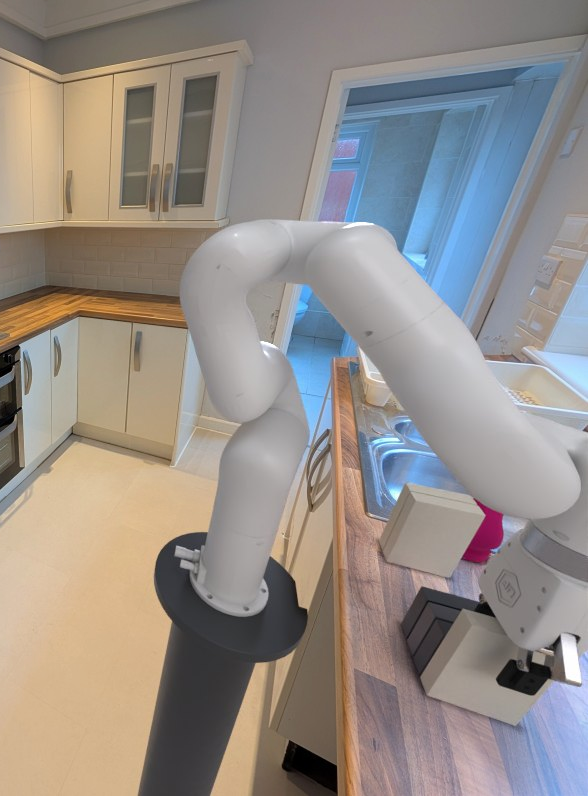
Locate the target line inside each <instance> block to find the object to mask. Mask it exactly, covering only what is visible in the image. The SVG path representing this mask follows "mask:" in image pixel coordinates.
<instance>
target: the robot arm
mask: <svg viewBox="0 0 588 796" xmlns="http://www.w3.org/2000/svg"><path fill="white" fill-rule="evenodd" d="M265 282H276V283H286V284H292V285H301V286H308V287H309V289H310V290H311V292H312V293H313V294H314V296H315V297H316V298H317V299H318V300H319V302H320V303H321V304H322V305H323V307H324V308H325V309H326V310H327V311H328V312H329V314H330V315H331V316H332V317H333V318H334V319H335V321H337V323H338V324H339V325H340V326H341V327H342V329H343V330H344V331H345V332H346V334H348V336H349V337H350V339H352V340H353V341H354V343H355V344H356V345H357V346H358V347H359V349H360V350H361V351H362V352H363V354H364V355H365V356H366V357H367V358H368V359H369V361H370V362H371V363H372V365H374V367H375V368H376V369H377V371H378V372H379V374H380V376H381V377H382V379H383V381H384V383H385V385H386V387H388V390H389V391H390V393H392V395H393V396H394V398H395V399H396V400H397V402H398V404H399V406H401V408H402V409H403V411H404V412H405V414H406V415H407V417H408V418H409V420H410V421H411V423H412V425H413V427H414V428H415V429H416V430H417V432H418V433H419V435H420V437H421V438H422V439H423V441H424V442H425V443H426V444H427V446H428V448H429V449H430V450H431V451H432V453H434V454H435V456H436V457H437V458H438V460H439V461H440V462H441V464H443V465H444V466H445V468H446V469H447V470H448V471H449V472H450V473H451V475H452V476H453V477H454V478H455V479H456V480H457V482H458V483H459V484H460V485H461V486H462V487H463V489H464V490H465V491H466V492H467V493H468V495H471V497H472V498H475V499H476V500H478V501H479V502H480V503H482V504H483V505H485V506H487V507H489V508H490V509H492V510H494V511H497V512H499V513H502V514H504V515H505V516H509V517H511V518H512V517H513V518H517V519H522V520H523V519H524V520H528V521H527V522H526V524H525V525H524V527H523V528H519V530H517V531H516V532H515V533H513V534H512V535H511V536H510V537H508V538H507V539H506V540H505V542H504V543H503V544H501V545H500V546H499V547H498V548H497V551H496V552H495V553H494V555H492V556H491V558H490V559H489V560H486V563H485V566H484V568H483V569H482V571H481V572H480V574H479V577H478V578H477V584H478V585H477V586H478V588H479V591H480V593H479V594H478V602H481V603H482V604H479V603H478V605H477V607H476V608H475V610H474V611H473V612H477V613H480V614H484V615H487V616H491V617H494V618H497V619H498V621H499V623H500V624H501V626H502V628H503V629H504V631H505V632H506V634H507V635H508V637H509V638H510V639H511V640H512V641H513V643H515V644H516V645H517V646H518V647H519V650H518V656H517V660H513V659H510V660H509V661H508V663H507V664H506V665H505V667H504V668H503V669H502V671H501V672H500V673H499V675H498V676H497V677H496V681H497V683H498V685H499V686H502V687H505V688H508V689H511V690H514V691H517V692H520V693H523V694H527V695H530V696H534V695H535V694H536V693H537V692H538V691H539V690H540V688H541V687H542V686H543V685H544V684H545V682H546V681H547V680H548V679H550V680H553V681H554V682H557V683H560V684H563V685H568V686H573V687H577V688H581V687H582V685H583V678H582V671H581V664H580V658H581V657H582V656H583V655H584V654H585V653H586V652H587V651H588V432H587V431H585V430H582V429H578V428H575V427H572V426H569V425H565V424H563V423H560V422H558V421H554V420H552V419H548V418H545V417H542V416H539V415H537V414H533V413H530V412H526V411H522V410H521V409H520V408H519V407H518V406H517V405H516V403H515V401H513V399H512V397H511V396H510V395H509V394H508V393H507V391H506V390H505V388H504V387H503V386H502V384H501V383H500V382H499V381H498V379H497V377H496V376H495V374H494V372H493V371H492V369H491V367H490V366H489V364H488V362H487V361H486V358H485V356H484V354H483V352H482V350H481V348H480V345H479V344H478V342H477V340H476V339H475V337H474V336H473V334H472V333H471V331H470V330H469V328H468V327H467V326H466V324H465V323H464V322H463V320H462V319H461V318H460V317H459V316H458V315H457V314H456V313H455V312H454V311H453V310H452V309H451V307H450V306H449V305H448V304H447V303H446V301H444V300H443V299H442V298H441V296H439V295H438V294H437V293H436V291H435V290H434V289H433V288H432V287H431V285H429V284H428V282H426V281H425V280H424V278H423V277H422V276H421V275H420V274H419V273H418V272H417V270H416V269H415V268H414V267H413V265H412V264H411V263H410V262H409V261H408V259H406V258H405V256H404V255H403V254H402V253H401V252H400V251H399V250H398V245H397V242H396V239H395V238H394V235H392V233H391V232H390V231H388V229H386V228H384V227H382V226H381V225H378V224H375V223H372V222H371V223H370V222H361V221H360V222H353V221H352V222H347V221H346V222H343V221H317V220H316V221H314V220H293V219H292V220H291V219H274V218H272V219H271V218H266V219H265V218H263V219H255V220H251V221H245V222H244V221H243V222H240V223H236V224H232V225H229V226H227V227H224V228H222V229H221V230H219V231H217V232H216V233H214V234H212V235H211V236H210V237H208V238H207V239H206V240H205V241H204V242H202V243H201V244H200V245H199V247H198V248H197V249H195V251H194V252H193V253H192V255H191V257H190V258H189V259H188V261H187V263H186V265H185V266H184V269H183V271H182V274H181V277H180V282H179V302H180V307H181V311H182V314H183V317H184V321H185V323H186V326H187V329H188V332H189V334H190V337H191V341H192V344H193V347H194V351H195V356H196V358H197V362H198V364H199V368H200V371H201V374H202V377H203V381H204V384H205V387H206V391H207V394H208V397H209V400H210V403H211V405H212V407H213V409H214V410H215V411H216V413H218V414H219V415H220V416H221V417H222V418H224V419H225V420H227V421H229V422H233V423H240V425H239V426H238V427H237V429H236V430H235V431H234V433H233V434H232V435H231V436H230V438H229V439H228V441H227V442H226V444H225V446H224V448H223V450H222V453H221V456H220V460H219V465H218V478H217V479H218V481H217V487H216V491H215V497H214V501H213V506H212V512H211V515H210V521H209V525H208V529H207V530H208V531H207V532H208V534H207V539H206V543H205V546H203V545H202V546H201V551H199V550H196V549H195V551H191V550H188V549H186V548H183V547H180V546H177V545H176V550H175V557H179V558H182V559H187V560H191V561H193V562H192V563H191V562H189V561H185V560H182V559H181V564H180V567H181V568H184V569H189V570H190V573H189V576H190V581H191V584H192V586H193V588H194V590H195V591H196V593H197V594H198V595H199V596H200V597H201V599H202V600H204V601H205V602H206V603H207V604H208V605H210V606H211V607H213V608H214V609H216V610H218V611H221V612H223V613H226V614H229V615H232V616H238V617H247V616H253V615H255V614H258V613H259V612H261V611H262V610H263V609H264V607H265V606H266V603H267V601H268V595H269V593H268V587H267V585H266V582H265V580H264V579H263V576H264V573H265V570H266V567H267V563H268V560H269V557H270V556H271V553H272V550H273V548H274V544H275V541H276V538H277V534H278V531H279V527H280V524H281V521H282V518H283V514H284V511H285V507H286V504H287V500H288V498H289V493H290V491H291V488H292V486H293V483H294V480H295V476H297V475H296V474H297V472H298V469H299V468H300V465H301V463H302V461H303V457H304V455H305V453H306V450H307V448H308V445H309V442H310V436H311V433H310V432H311V431H310V425H309V420H308V417H307V413H306V409H305V406H304V403H303V399H302V396H301V392H300V389H299V385H298V381H297V378H296V374H295V371H294V369H293V366H292V364H291V362H290V360H289V358H288V356H287V355H286V354H285V352H283V351H282V350H281V349H280V348H279V347H278V346H275V345H274V344H272V343H269V342H266V341H261V339H260V336H259V331H258V327H257V324H256V321H255V318H254V316H253V314H252V312H251V310H250V308H249V307H248V304H247V295H248V293H249V292H250V291H251V290H253V289H254V288H256V287H258V286H260V285H261V284H263V283H265ZM548 646H549V647H548ZM534 651H536V652H539V653H543V654H546V656H545V662H544V665H541V664H538V663H535V662H532V658H533V652H534Z"/></svg>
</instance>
